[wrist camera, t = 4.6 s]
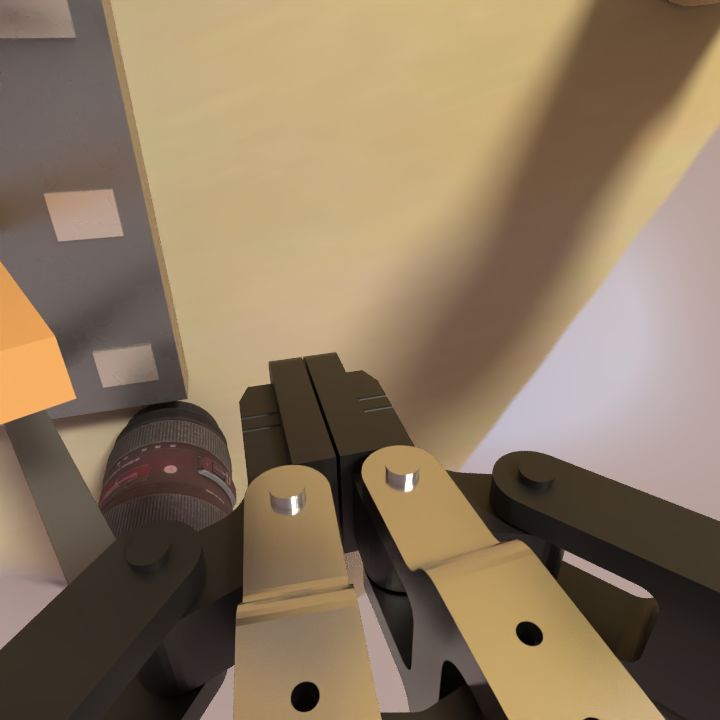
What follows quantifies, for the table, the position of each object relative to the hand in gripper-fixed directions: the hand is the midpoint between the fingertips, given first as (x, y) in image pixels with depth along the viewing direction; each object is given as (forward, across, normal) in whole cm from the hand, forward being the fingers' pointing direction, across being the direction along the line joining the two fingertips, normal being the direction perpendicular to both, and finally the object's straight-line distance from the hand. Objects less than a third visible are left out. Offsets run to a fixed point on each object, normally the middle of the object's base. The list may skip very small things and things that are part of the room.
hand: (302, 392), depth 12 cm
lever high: (+19, +14, +9) cm, 25 cm away
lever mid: (+19, +14, 0) cm, 24 cm away
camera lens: (+23, +7, +17) cm, 30 cm away
